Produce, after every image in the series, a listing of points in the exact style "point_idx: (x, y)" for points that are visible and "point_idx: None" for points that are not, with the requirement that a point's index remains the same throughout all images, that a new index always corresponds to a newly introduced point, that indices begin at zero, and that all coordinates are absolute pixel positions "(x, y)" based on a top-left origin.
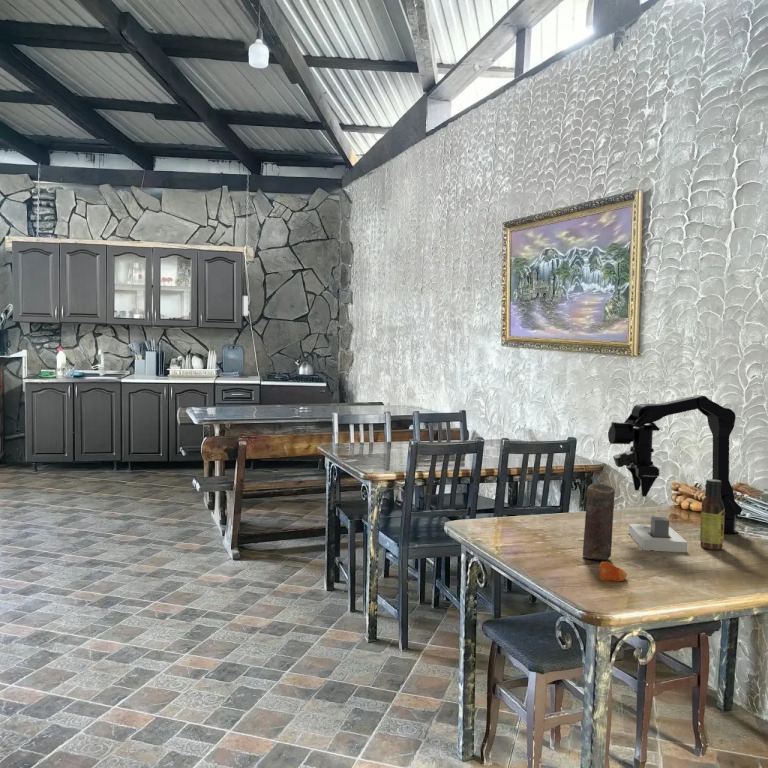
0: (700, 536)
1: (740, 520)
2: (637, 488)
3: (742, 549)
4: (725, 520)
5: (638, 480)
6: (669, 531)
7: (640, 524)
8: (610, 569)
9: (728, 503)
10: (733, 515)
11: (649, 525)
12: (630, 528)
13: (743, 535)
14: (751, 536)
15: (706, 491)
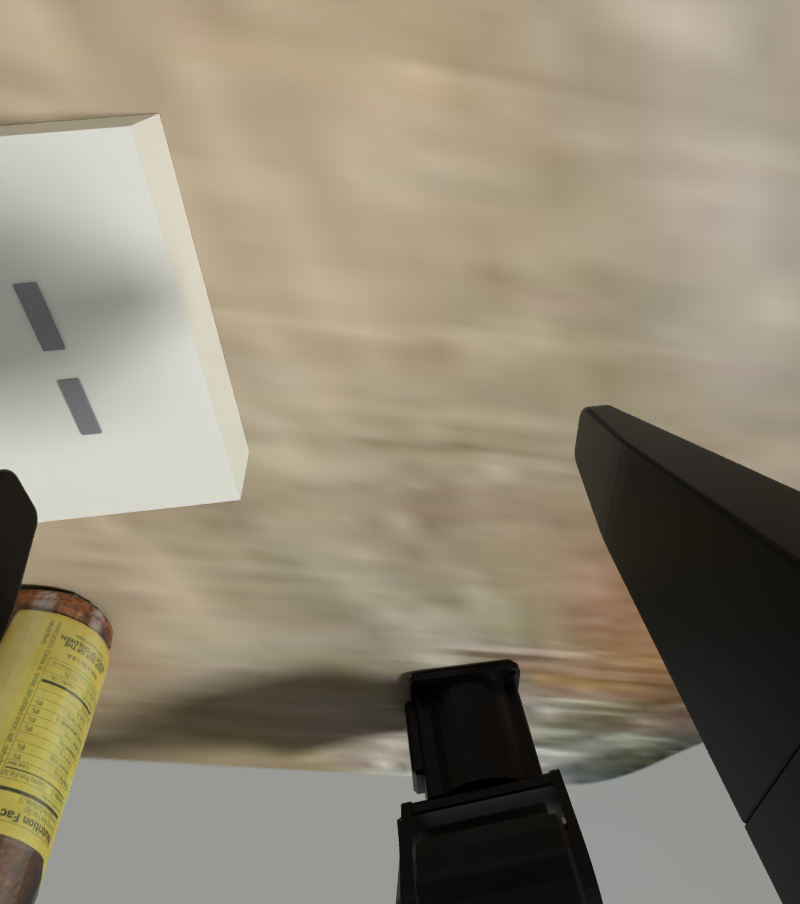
0: (3, 636)
1: (676, 748)
2: (589, 463)
3: (115, 717)
4: (413, 764)
5: (684, 602)
6: (27, 484)
7: (170, 269)
8: None
9: (397, 896)
10: (397, 822)
11: (174, 354)
12: (48, 129)
13: (402, 737)
14: (393, 754)
15: (567, 898)
